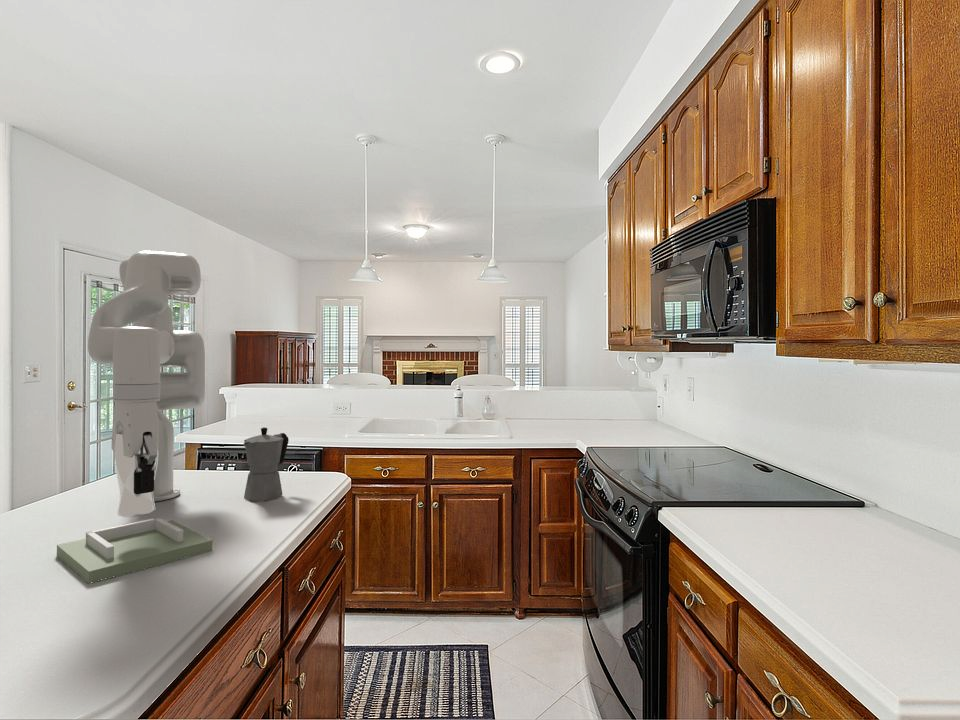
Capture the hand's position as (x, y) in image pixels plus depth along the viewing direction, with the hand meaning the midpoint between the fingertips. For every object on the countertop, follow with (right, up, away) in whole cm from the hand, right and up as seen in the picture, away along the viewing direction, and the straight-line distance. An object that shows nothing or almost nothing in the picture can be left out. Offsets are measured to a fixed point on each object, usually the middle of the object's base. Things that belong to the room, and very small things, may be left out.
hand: (136, 488), depth 104 cm
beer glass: (0, -5, 0) cm, 5 cm away
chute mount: (0, -12, 0) cm, 12 cm away
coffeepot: (+9, -12, +41) cm, 43 cm away
